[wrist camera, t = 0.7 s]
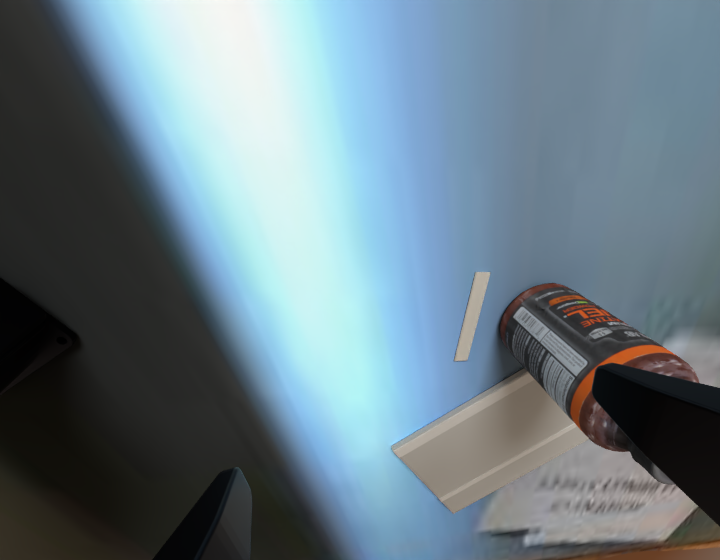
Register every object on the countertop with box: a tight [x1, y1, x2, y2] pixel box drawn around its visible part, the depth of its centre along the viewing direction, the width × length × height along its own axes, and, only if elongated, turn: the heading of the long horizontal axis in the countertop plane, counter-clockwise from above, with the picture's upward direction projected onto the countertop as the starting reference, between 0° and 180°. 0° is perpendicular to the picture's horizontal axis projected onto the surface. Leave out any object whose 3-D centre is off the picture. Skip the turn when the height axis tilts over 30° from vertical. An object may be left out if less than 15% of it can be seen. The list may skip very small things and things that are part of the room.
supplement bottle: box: [500, 283, 699, 485], centre depth 20 cm, size 6×6×11 cm
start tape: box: [454, 272, 490, 361], centre depth 24 cm, size 1×7×1 cm, turn 176°
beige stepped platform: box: [391, 368, 589, 514], centre depth 30 cm, size 16×12×1 cm
